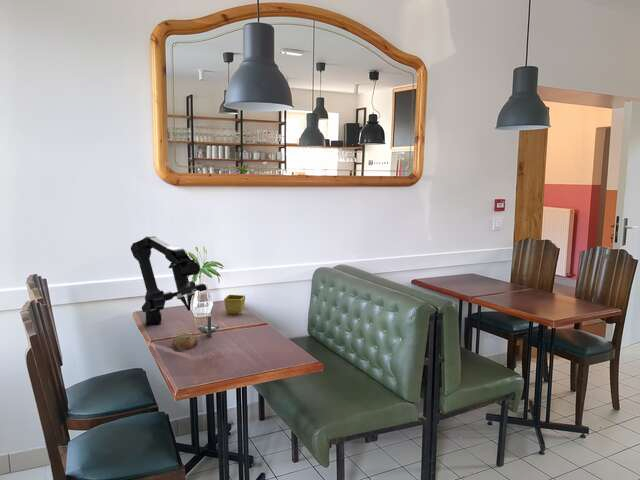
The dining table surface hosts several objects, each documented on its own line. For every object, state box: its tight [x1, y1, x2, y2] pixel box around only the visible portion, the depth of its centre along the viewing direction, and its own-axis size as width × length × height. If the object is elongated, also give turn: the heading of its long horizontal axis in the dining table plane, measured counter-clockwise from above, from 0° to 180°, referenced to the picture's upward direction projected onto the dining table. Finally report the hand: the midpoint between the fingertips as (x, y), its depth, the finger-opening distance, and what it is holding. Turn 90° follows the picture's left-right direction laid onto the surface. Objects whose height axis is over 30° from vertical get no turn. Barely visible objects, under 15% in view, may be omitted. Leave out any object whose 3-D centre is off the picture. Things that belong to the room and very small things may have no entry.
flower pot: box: [223, 294, 246, 315], centre depth 252 cm, size 9×9×9 cm
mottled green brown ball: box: [171, 333, 198, 353], centre depth 204 cm, size 10×10×8 cm
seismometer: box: [198, 312, 220, 338], centre depth 223 cm, size 19×9×9 cm, turn 14°
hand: (189, 310), depth 223 cm, fingers closed
